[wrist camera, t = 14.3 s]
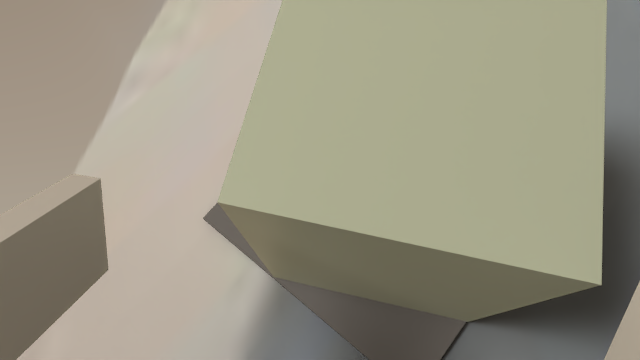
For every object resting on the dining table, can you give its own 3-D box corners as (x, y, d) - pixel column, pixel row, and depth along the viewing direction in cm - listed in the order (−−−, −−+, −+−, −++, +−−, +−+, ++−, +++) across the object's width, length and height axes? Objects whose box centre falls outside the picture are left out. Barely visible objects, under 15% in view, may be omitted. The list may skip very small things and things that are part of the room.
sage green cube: (488, 143, 27) (607, -24, 15) (468, 321, 23) (601, 285, 12) (317, 110, 28) (304, -68, 16) (273, 277, 24) (217, 202, 13)
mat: (359, 53, 29) (359, 49, 29) (559, 183, 26) (562, 180, 26) (204, 220, 26) (203, 218, 25) (413, 396, 22) (414, 397, 22)
